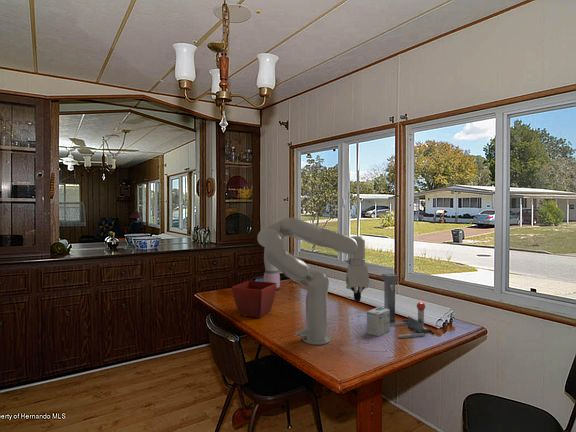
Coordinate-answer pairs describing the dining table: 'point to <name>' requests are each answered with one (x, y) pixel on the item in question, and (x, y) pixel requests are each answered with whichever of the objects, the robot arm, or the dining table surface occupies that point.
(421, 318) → the lever
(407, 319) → the lever track
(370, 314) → the light bulb box
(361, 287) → the robot arm
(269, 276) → the blender
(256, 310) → the plant pot
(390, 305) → the press frame
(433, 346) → the dining table surface
